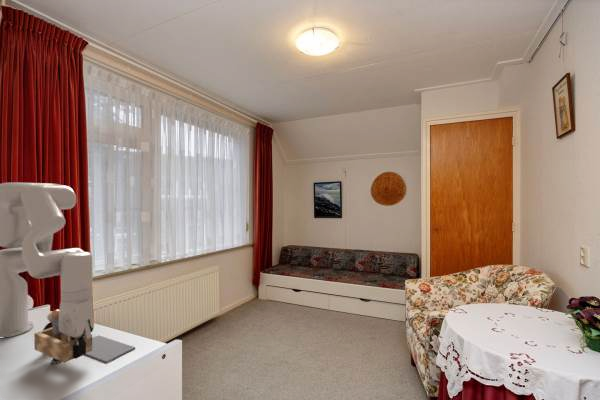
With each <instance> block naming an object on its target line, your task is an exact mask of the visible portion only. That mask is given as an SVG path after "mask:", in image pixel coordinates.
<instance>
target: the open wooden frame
mask: <svg viewBox="0 0 600 400" xmlns="http://www.w3.org/2000/svg"><path fill="white" fill-rule="evenodd" d="M42 330H43V329H42ZM42 330H40V331H38V332H34V351H36V352H38V353H39V352H40V353H42V354H44V355H46V356H48V357H51V358H52V359H53V358H55V359H57V360H59V361H61V362H60V363H67V362H70V361H71V360H73V359H74V358H73V345H75V340H72V341H70V342H68V335H66V334H64V333H61V340H58V339H56V338H53V337H52V328H49V329H46V330H43V331H42ZM82 336H83V335H82ZM80 337H81V336H80ZM92 338H93V334H92V333H91V338H90V339H88V340H87V341H86V353H87V352H90V351H92Z"/></svg>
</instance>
